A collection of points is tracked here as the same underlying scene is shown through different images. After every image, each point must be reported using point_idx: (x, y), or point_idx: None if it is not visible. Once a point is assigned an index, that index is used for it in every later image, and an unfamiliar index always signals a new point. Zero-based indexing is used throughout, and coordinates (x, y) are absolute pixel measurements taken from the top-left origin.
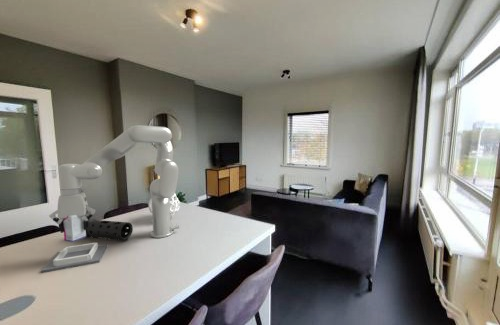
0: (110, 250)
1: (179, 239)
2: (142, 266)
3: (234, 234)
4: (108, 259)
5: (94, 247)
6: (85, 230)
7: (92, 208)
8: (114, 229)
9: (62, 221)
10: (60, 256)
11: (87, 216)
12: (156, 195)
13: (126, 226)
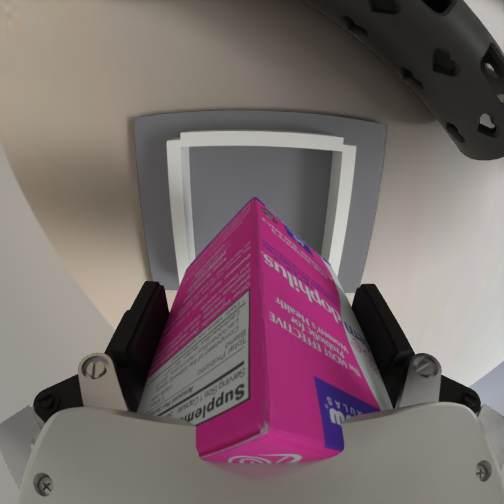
0: (396, 188)
1: None
2: (441, 343)
3: None
4: (384, 275)
5: (347, 216)
6: (345, 297)
7: (502, 465)
8: (470, 120)
9: (129, 395)
10: (188, 239)
11: (425, 396)
12: None
13: (498, 72)
